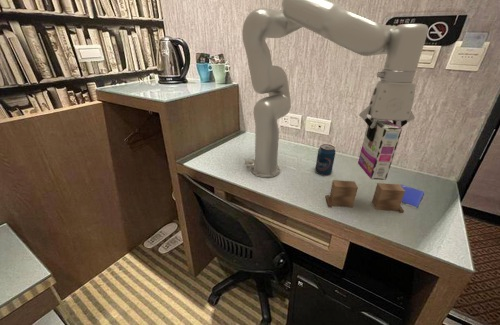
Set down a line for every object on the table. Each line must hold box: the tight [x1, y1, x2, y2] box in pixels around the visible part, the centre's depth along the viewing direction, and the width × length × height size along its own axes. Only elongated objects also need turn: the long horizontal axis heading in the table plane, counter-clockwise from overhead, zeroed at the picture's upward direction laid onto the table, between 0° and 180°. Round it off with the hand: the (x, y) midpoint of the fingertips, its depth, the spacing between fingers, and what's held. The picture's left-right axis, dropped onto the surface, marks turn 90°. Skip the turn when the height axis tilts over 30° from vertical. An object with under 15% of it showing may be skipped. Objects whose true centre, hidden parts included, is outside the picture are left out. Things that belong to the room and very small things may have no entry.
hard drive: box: [399, 184, 425, 210], centre depth 88 cm, size 2×8×12 cm
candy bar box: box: [357, 116, 403, 181], centre depth 73 cm, size 11×5×16 cm, turn 178°
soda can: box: [315, 143, 336, 176], centre depth 101 cm, size 7×7×12 cm
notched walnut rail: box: [325, 179, 405, 214], centre depth 81 cm, size 24×6×8 cm, turn 84°
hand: (380, 139), depth 72 cm, fingers closed on candy bar box, 5 cm apart
